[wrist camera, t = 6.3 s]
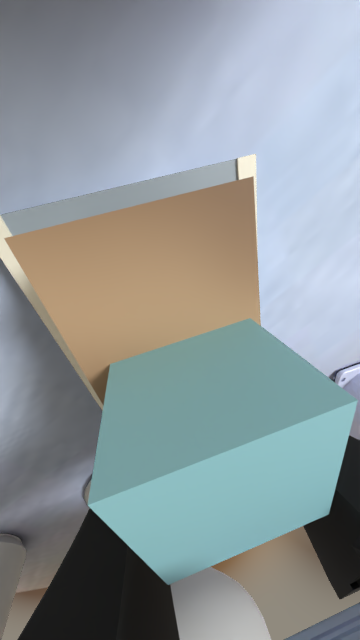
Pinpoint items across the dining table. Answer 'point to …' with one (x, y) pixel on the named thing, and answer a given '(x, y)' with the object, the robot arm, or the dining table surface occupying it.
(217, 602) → the chalice
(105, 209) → the dock
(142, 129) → the dining table surface
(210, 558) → the teal cube block
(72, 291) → the tan block
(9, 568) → the can
